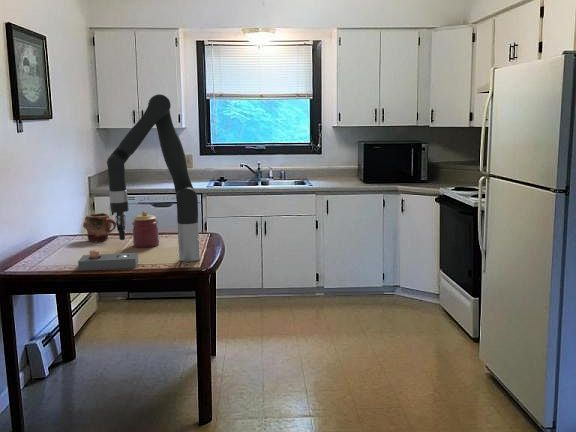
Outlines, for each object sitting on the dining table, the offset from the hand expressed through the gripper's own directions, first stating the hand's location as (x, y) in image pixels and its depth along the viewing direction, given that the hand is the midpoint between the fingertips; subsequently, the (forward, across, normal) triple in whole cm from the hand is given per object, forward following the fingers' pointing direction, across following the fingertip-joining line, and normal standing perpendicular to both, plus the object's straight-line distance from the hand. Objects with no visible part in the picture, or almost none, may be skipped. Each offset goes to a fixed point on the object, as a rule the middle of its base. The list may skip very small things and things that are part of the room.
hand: (122, 239), depth 272 cm
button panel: (+11, 0, +7) cm, 13 cm away
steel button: (+11, 0, +1) cm, 11 cm away
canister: (+12, +40, -6) cm, 42 cm away
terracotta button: (+7, 0, +12) cm, 14 cm away
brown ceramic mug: (+11, +58, +18) cm, 62 cm away
